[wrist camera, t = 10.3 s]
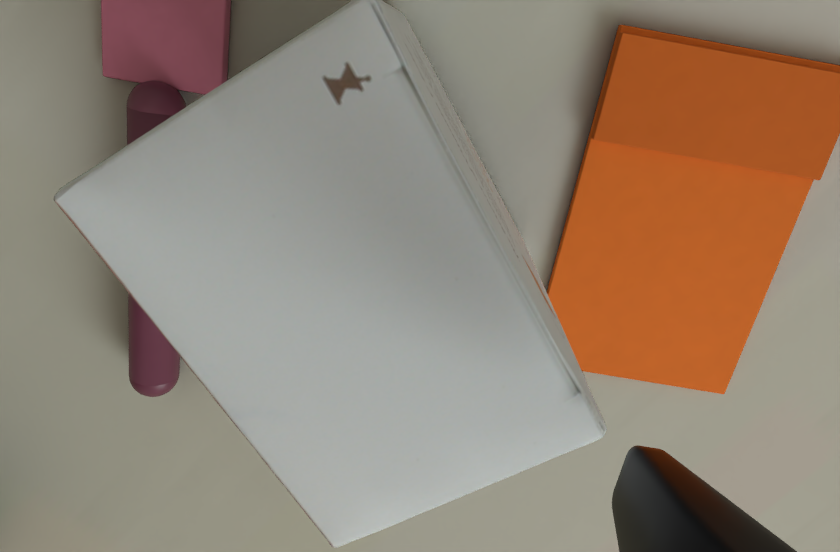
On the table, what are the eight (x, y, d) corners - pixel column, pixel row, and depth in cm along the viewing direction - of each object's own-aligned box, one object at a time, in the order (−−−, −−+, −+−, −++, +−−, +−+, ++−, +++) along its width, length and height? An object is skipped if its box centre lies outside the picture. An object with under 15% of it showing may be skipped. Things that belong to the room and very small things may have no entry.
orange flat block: (528, 358, 21) (530, 367, 21) (618, 24, 17) (624, 24, 17) (720, 390, 22) (728, 399, 21) (853, 68, 18) (867, 69, 17)
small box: (245, 106, 18) (28, 185, 9) (405, 7, 17) (365, -29, 8) (379, 316, 21) (328, 564, 11) (527, 242, 20) (615, 445, 10)
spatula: (212, 388, 22) (195, 413, 21) (115, 373, 22) (92, 397, 20) (239, -153, 16) (219, -173, 14) (105, -179, 16) (71, -202, 14)
